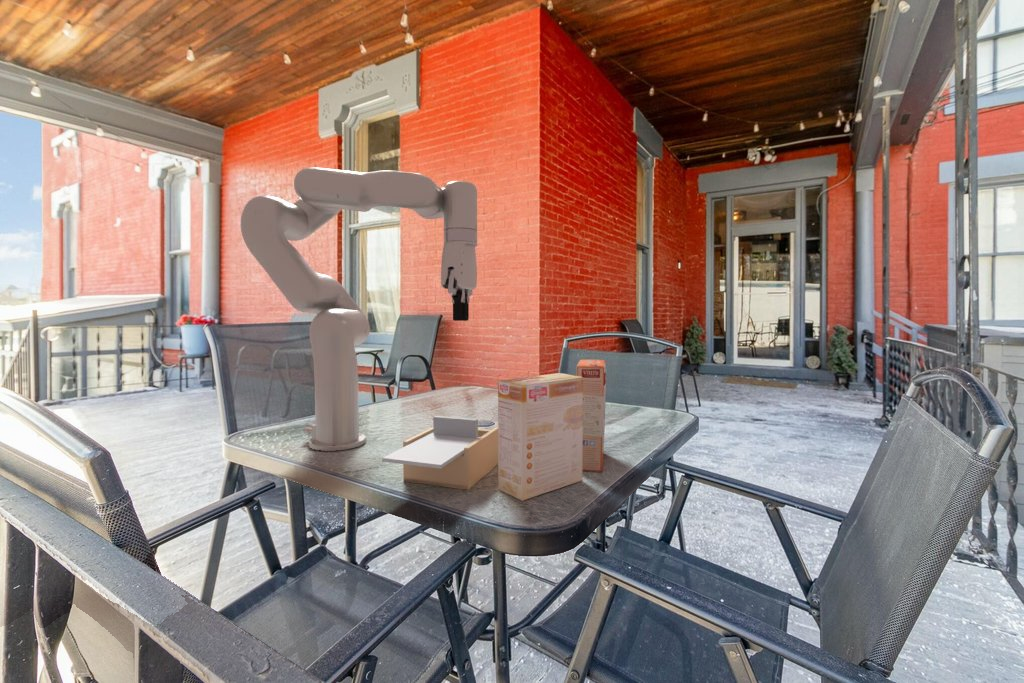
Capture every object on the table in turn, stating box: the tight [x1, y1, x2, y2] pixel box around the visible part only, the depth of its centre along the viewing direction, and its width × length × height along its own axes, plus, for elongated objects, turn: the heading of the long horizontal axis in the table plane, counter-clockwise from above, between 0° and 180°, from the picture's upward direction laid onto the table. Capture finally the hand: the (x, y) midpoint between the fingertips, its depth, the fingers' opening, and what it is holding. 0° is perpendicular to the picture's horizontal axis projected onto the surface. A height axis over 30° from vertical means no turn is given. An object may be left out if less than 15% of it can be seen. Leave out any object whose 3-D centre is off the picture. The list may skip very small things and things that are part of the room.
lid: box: [381, 415, 480, 469], centre depth 84 cm, size 11×17×4 cm, turn 161°
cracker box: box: [575, 358, 607, 473], centre depth 97 cm, size 14×6×21 cm, turn 168°
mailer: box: [402, 425, 498, 490], centre depth 92 cm, size 13×18×7 cm
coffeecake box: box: [497, 372, 583, 502], centre depth 84 cm, size 15×7×20 cm, turn 129°
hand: (460, 320), depth 107 cm, fingers closed
